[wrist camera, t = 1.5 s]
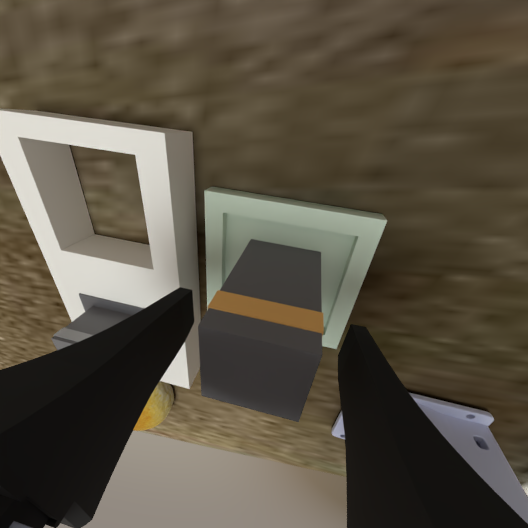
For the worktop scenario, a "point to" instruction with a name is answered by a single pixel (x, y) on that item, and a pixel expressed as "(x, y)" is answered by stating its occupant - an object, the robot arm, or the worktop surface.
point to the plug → (264, 331)
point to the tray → (294, 244)
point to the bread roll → (156, 407)
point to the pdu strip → (102, 247)
